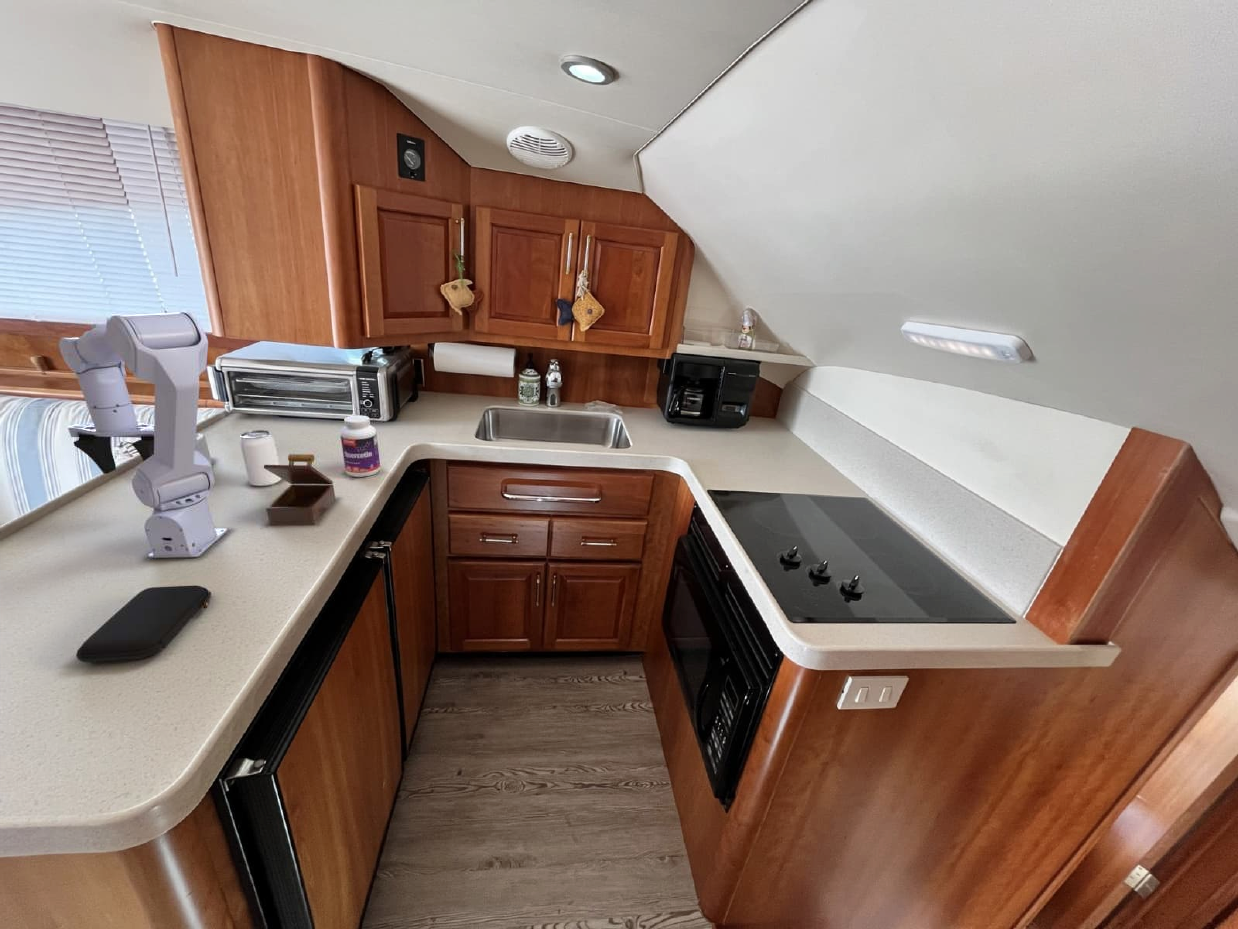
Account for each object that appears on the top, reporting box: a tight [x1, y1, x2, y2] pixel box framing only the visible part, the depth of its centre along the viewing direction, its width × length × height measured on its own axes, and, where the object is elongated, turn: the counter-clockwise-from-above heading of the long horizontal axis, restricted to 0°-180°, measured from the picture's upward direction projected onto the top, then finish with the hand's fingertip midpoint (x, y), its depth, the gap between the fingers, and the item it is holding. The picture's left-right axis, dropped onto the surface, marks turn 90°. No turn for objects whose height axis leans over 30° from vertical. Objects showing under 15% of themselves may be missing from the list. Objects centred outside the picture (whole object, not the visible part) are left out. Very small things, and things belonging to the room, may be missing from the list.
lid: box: [264, 453, 334, 485], centre depth 104 cm, size 12×9×5 cm
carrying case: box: [76, 584, 212, 664], centre depth 72 cm, size 11×3×15 cm
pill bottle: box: [339, 414, 381, 478], centre depth 123 cm, size 8×8×14 cm
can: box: [239, 429, 282, 487], centre depth 115 cm, size 6×6×12 cm
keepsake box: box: [265, 484, 337, 525], centre depth 105 cm, size 11×9×4 cm
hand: (132, 472), depth 94 cm, fingers open, 7 cm apart
